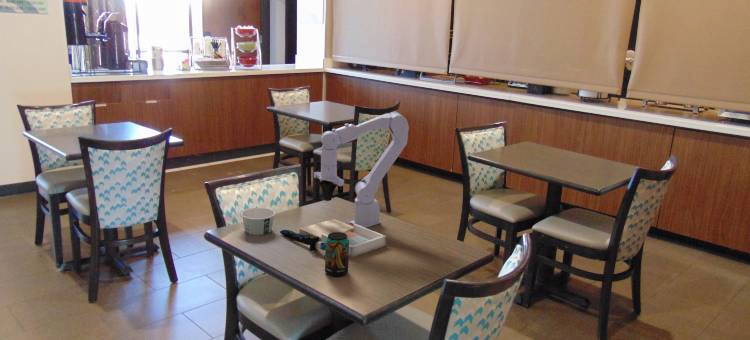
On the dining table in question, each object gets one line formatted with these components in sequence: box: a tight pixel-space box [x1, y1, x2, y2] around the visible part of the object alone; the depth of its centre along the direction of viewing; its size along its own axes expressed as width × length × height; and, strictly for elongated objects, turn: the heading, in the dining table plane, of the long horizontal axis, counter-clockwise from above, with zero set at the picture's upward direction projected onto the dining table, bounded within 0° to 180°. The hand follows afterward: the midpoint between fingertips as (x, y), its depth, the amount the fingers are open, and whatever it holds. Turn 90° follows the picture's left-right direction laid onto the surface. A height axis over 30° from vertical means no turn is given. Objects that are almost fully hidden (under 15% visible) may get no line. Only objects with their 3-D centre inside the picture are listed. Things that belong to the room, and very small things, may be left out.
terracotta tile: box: [345, 231, 357, 240], centre depth 194 cm, size 4×4×2 cm
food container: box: [240, 207, 276, 236], centre depth 201 cm, size 12×12×6 cm
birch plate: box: [298, 218, 354, 242], centre depth 201 cm, size 16×12×2 cm
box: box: [321, 224, 387, 258], centre depth 192 cm, size 16×15×4 cm
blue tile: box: [349, 235, 367, 246], centre depth 191 cm, size 4×4×2 cm
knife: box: [279, 229, 326, 251], centre depth 188 cm, size 31×3×4 cm, turn 43°
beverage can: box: [324, 232, 350, 278], centre depth 169 cm, size 7×7×12 cm
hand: (328, 200), depth 208 cm, fingers closed
